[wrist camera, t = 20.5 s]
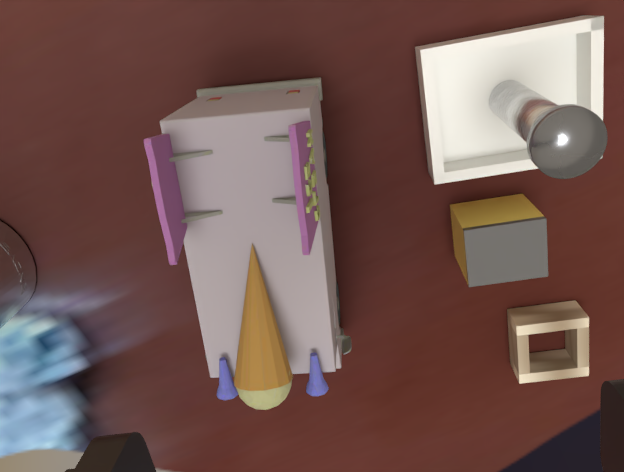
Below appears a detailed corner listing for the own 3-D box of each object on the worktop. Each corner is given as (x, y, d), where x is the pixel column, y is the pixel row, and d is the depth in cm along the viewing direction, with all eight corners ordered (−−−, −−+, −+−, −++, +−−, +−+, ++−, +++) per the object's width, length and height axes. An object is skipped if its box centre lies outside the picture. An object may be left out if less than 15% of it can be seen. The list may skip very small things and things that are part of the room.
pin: (482, 129, 37) (532, 183, 27) (479, 76, 35) (530, 114, 26) (535, 120, 36) (606, 172, 27) (534, 67, 35) (608, 101, 25)
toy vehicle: (238, 335, 45) (190, 483, 31) (195, 85, 37) (107, 132, 23) (353, 329, 44) (358, 478, 30) (333, 72, 37) (326, 112, 23)
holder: (510, 363, 44) (519, 383, 42) (506, 308, 42) (516, 326, 40) (576, 356, 44) (589, 375, 41) (575, 300, 42) (588, 317, 39)
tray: (428, 172, 39) (434, 184, 36) (414, 46, 36) (420, 49, 33) (584, 147, 37) (602, 158, 35) (584, 15, 34) (604, 16, 32)
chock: (454, 255, 41) (468, 287, 36) (449, 204, 40) (463, 230, 35) (524, 245, 40) (548, 276, 36) (522, 193, 39) (546, 218, 34)
